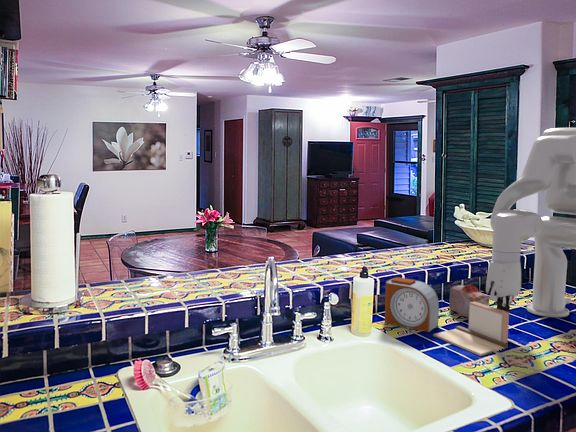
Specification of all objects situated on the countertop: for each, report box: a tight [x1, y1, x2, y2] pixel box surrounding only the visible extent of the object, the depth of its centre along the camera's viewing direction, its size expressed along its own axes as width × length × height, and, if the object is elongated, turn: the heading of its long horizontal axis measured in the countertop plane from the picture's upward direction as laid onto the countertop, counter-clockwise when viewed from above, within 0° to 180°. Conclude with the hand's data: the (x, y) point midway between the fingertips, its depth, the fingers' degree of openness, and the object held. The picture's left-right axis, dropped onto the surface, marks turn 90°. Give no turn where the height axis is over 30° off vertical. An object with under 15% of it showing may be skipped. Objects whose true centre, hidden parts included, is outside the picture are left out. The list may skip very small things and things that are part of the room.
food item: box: [448, 284, 490, 319], centre depth 175 cm, size 14×8×10 cm, turn 20°
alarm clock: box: [384, 276, 440, 333], centre depth 167 cm, size 15×8×14 cm, turn 55°
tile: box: [467, 301, 510, 344], centre depth 155 cm, size 2×12×9 cm, turn 30°
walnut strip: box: [455, 325, 509, 350], centre depth 155 cm, size 1×17×1 cm, turn 30°
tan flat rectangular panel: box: [432, 328, 505, 357], centre depth 152 cm, size 9×17×1 cm, turn 30°
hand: (502, 318), depth 158 cm, fingers closed
